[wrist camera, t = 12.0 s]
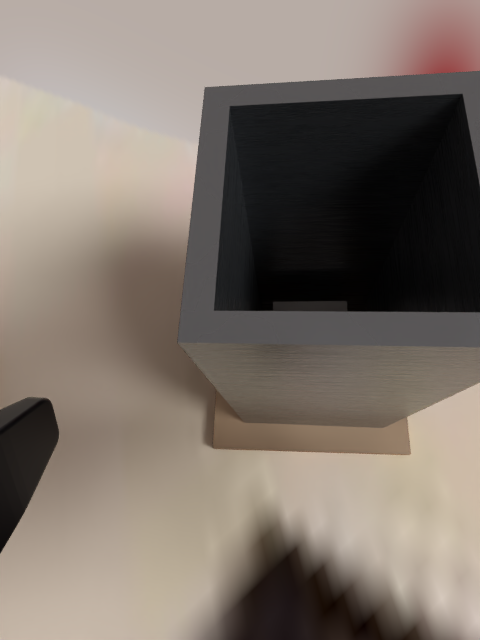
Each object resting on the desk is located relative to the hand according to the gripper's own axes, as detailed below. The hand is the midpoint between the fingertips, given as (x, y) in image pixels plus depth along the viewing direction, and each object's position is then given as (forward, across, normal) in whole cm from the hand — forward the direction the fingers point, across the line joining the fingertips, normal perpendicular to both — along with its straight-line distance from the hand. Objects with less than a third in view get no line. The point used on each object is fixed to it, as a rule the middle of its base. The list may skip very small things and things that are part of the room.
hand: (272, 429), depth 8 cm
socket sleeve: (+10, -1, +4) cm, 11 cm away
